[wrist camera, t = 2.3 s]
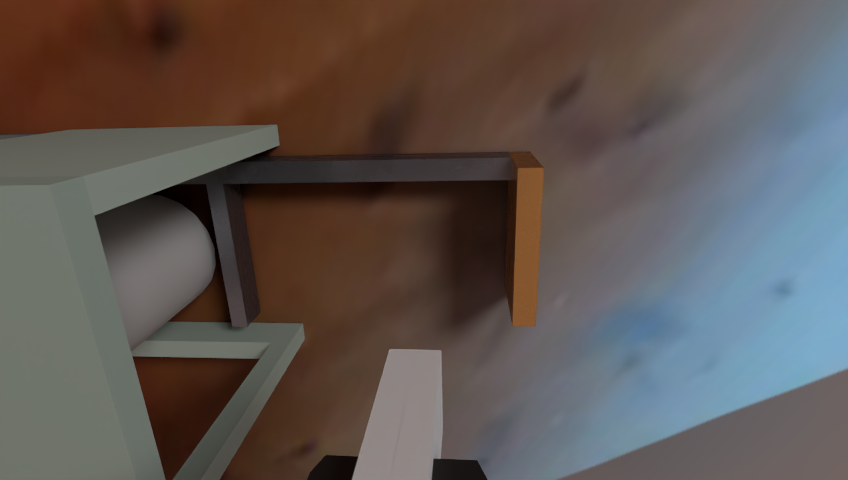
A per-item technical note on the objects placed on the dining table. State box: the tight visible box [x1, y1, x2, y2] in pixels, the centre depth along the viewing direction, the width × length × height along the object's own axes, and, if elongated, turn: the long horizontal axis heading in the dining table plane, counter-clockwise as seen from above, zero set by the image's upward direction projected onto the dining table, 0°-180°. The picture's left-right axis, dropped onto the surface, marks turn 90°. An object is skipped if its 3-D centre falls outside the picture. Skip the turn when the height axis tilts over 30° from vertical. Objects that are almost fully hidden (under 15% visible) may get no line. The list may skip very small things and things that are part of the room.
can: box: [94, 194, 216, 351], centre depth 25 cm, size 8×8×12 cm
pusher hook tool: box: [179, 151, 544, 327], centre depth 27 cm, size 28×10×5 cm, turn 92°
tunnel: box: [0, 125, 305, 480], centre depth 23 cm, size 13×14×16 cm
